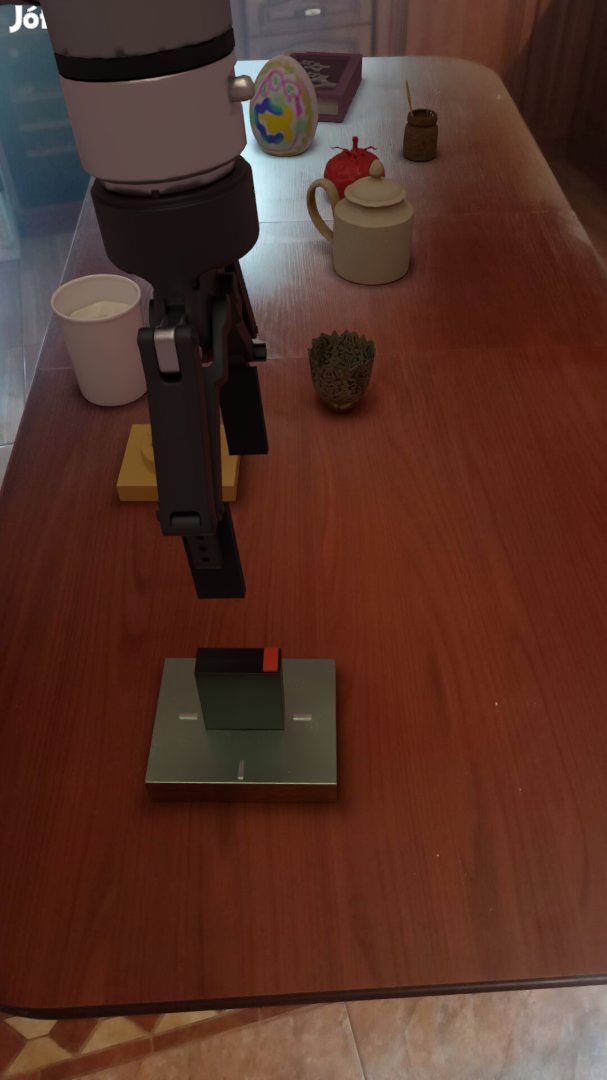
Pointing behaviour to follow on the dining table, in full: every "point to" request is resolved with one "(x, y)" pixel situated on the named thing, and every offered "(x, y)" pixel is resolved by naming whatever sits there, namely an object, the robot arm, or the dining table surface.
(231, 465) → the button block
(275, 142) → the decorative egg
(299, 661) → the control panel
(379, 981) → the dining table surface
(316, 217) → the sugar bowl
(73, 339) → the white paper cup
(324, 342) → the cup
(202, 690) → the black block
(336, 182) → the red tomato
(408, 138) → the utensil holder
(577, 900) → the dining table surface
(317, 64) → the book
